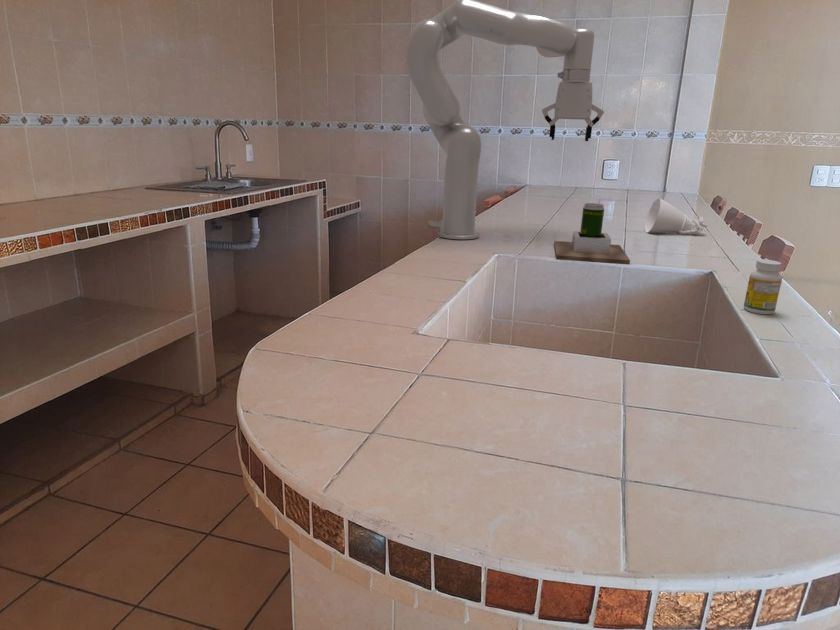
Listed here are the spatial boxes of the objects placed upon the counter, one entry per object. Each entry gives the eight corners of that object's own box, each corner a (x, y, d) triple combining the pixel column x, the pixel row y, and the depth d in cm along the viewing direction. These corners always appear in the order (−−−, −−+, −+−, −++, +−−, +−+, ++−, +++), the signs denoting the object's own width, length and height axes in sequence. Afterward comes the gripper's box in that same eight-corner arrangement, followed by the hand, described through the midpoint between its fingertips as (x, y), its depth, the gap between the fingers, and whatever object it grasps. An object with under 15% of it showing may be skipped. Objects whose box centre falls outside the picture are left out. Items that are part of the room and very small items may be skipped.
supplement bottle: (771, 316, 111) (782, 266, 108) (739, 310, 114) (749, 261, 111) (777, 310, 115) (788, 261, 112) (746, 304, 118) (756, 257, 115)
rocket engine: (716, 205, 191) (661, 190, 192) (716, 232, 186) (659, 217, 186) (698, 228, 201) (646, 213, 202) (697, 254, 196) (643, 239, 196)
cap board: (556, 259, 153) (558, 239, 151) (554, 244, 171) (555, 226, 170) (629, 264, 150) (632, 244, 148) (619, 248, 168) (621, 230, 167)
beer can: (603, 250, 160) (608, 205, 156) (591, 252, 157) (596, 206, 153) (586, 246, 164) (591, 202, 160) (574, 249, 161) (579, 204, 157)
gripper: (545, 75, 167) (539, 139, 172) (609, 77, 164) (601, 142, 170) (544, 77, 174) (539, 139, 179) (606, 79, 171) (598, 141, 177)
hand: (569, 140), depth 174 cm, fingers open, 9 cm apart
